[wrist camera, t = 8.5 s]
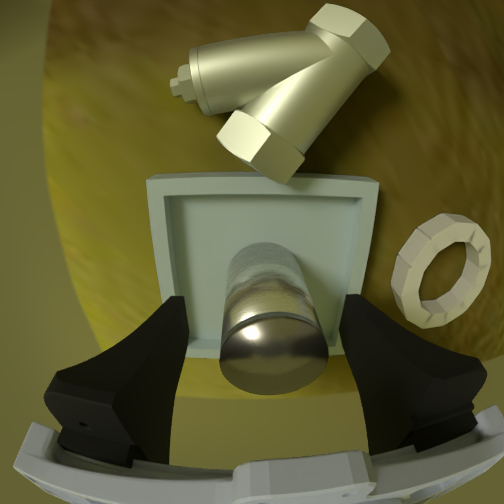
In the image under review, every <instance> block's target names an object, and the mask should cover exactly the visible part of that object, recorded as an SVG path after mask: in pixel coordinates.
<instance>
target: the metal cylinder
mask: <svg viewBox="0 0 504 504" xmlns="http://www.w3.org/2000/svg"><path fill="white" fill-rule="evenodd" d="M328 357H329V350H328V345H327V342H326V339H325V336H324V334H323V331H322V328H321V325H320V322H319V319H318V316H317V313H316V310H315V308H314V305H313V302H312V299H311V296H310V294H309V291H308V288H307V285H306V282H305V280H304V277H303V274H302V271H301V269H300V266H299V263H298V261H297V259H296V257H295V256H294V255H293V253H291V252H290V251H289V250H288V249H287V248H285V247H283V246H281V245H279V244H276V243H271V242H259V243H254V244H251V245H248V246H246V247H244V248H243V249H241V250H240V251H239V252H238V253H237V254H236V255H235V256H234V257H233V258H232V260H231V262H230V264H229V267H228V271H227V281H226V292H225V302H224V313H223V325H222V336H221V348H220V360H219V363H220V368H221V371H222V373H223V375H224V376H225V378H226V379H227V380H228V381H229V382H230V383H231V384H233V385H234V386H235V387H237V388H239V389H241V390H244V391H246V392H249V393H253V394H259V395H279V394H285V393H289V392H292V391H295V390H298V389H300V388H302V387H304V386H306V385H308V384H309V383H311V382H312V381H314V380H315V379H316V378H317V377H318V376H319V375H320V374H321V373H322V371H323V370H324V368H325V366H326V364H327V362H328Z"/></svg>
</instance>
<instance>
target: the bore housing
mask: <svg viewBox="0 0 504 504" xmlns="http://www.w3.org/2000/svg"><path fill="white" fill-rule="evenodd" d="M454 242H465V246H466V255H467V260H466V263H465V266H464V269H463V272H462V276H461V277H460V278H459V280H458V281H457V282H456V284H455V285H454V286H453V288H452V289H451V290H450V291H449V292H447V293H446V294H444V295H442V296H441V297H439V298H438V299H436V300H427V301H421V300H420V299H419V294H418V290H419V287H420V283H421V280H422V277H423V273H424V271H425V269H426V268H427V267H428V265H429V264H430V263H431V261H432V260H433V259H434V257H435V256H436V254H437V253H438V252H439V251H441V250H443V249H444V248H446V247H447V246H449V245H450V244H452V243H454ZM398 254H399V255H397V258H396V263H395V267H394V271H393V275H392V279H391V287H392V291H393V294H394V297H395V301H396V304H397V306H398V307H399V309H400V310H401V312H402V313H403V315H404V316H405V318H406V319H407V320H408V321H410V322H412V323H413V324H415V325H417V326H419V327H420V328H423V329H425V328H432V327H438V326H443V325H446V324H447V323H449V322H450V321H452V320H453V319H455V318H456V317H458V316H459V315H461V314H462V313H464V312H465V310H467V309H468V307H469V306H470V305H471V304H472V302H473V301H474V300H475V298H476V297H477V296H478V294H479V293H480V292H481V289H482V288H483V286H484V283H485V280H486V277H487V274H488V272H489V269H490V266H491V265H490V264H491V253H490V241H489V238H488V237H487V236H486V234H485V233H484V232H483V230H482V229H481V228H480V227H479V225H478V224H476V223H475V222H473V221H471V220H470V219H468V218H466V217H465V216H463V215H456V214H445V213H442V214H439V215H437V216H436V217H434V218H432V219H430V220H429V221H427V222H425V223H424V224H422V225H420V226H418V230H417V229H415V231H414V232H413V233H412V235H411V236H410V238H409V239H408V240H407V242H406V243H405V245H404V246H403V247H402V249H401V250H400V252H399V253H398Z"/></svg>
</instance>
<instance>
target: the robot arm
mask: <svg viewBox="0 0 504 504" xmlns="http://www.w3.org/2000/svg"><path fill="white" fill-rule="evenodd" d="M189 332H190V331H189V325H188V319H187V312H186V305H185V298H184V296H170V297H169V298H168V299H167V300H166V301H165V302H164V303H163V304H162V305H161V306H160V307H159V308H158V309H157V310H156V311H155V312H154V313H153V314H152V315H151V316H150V317H149V318H148V319H147V320H146V321H145V322H144V323H143V324H142V325H140V326H139V327H138V328H137V329H136V330H135V331H134V332H132V333H131V334H130V335H129V336H127V337H126V338H125V339H123V340H122V341H120V342H119V343H117V344H116V345H114V346H113V347H111V348H109V349H108V350H106V351H104V352H102V353H101V354H99V355H97V356H96V357H93V358H91V359H89V360H87V361H85V362H82V363H80V364H78V365H75V366H72V367H69V368H66V369H63V370H60V371H57V373H56V374H55V376H54V377H53V379H52V381H51V383H50V385H49V387H48V388H47V390H46V392H45V394H44V401H45V404H46V406H47V407H48V409H49V410H50V412H51V413H52V414H53V416H54V417H55V418H56V419H57V421H58V422H59V423H60V424H61V426H63V428H62V430H61V433H59V432H58V431H56V430H55V429H52V428H50V427H47V426H44V425H42V424H39V423H37V422H32V425H31V427H30V429H29V431H28V433H27V435H26V438H25V439H24V442H23V444H22V446H21V449H20V451H19V453H18V456H17V458H16V460H15V463H14V466H13V467H14V469H16V470H17V471H18V472H19V473H21V474H22V475H23V476H25V477H26V478H27V479H29V480H30V481H31V482H33V483H34V484H35V485H37V486H38V487H40V488H41V489H42V490H44V491H45V492H47V493H49V494H51V495H53V496H56V497H58V498H60V499H62V500H65V501H67V502H69V503H71V504H425V503H427V502H429V501H431V500H433V499H435V498H438V497H440V496H441V495H444V494H446V493H448V492H450V491H451V490H453V489H455V488H457V487H459V486H461V485H463V484H465V483H466V482H468V481H470V480H472V479H473V478H475V477H477V476H479V475H480V474H482V473H484V472H485V471H487V470H488V469H489V468H490V467H491V466H493V465H494V464H495V463H496V462H498V461H499V460H500V459H501V458H502V457H503V456H504V417H503V416H502V414H501V412H500V410H499V409H498V407H497V405H492V406H490V407H488V408H486V409H484V410H482V411H480V412H478V413H477V414H476V415H475V416H474V414H473V413H472V410H473V409H474V405H473V403H472V400H473V399H474V397H475V396H476V395H477V393H478V392H479V390H480V389H481V388H482V386H483V384H484V383H485V380H486V377H487V371H486V370H485V368H484V367H483V365H482V364H481V362H480V361H479V359H478V358H475V357H471V356H467V355H463V354H459V353H456V352H453V351H450V350H447V349H444V348H442V347H439V346H437V345H435V344H433V343H430V342H428V341H426V340H424V339H422V338H420V337H419V336H417V335H415V334H413V333H412V332H410V331H408V330H407V329H405V328H404V327H402V326H401V325H399V324H398V323H396V322H395V321H393V320H392V319H391V318H389V317H388V316H387V315H385V314H384V313H383V312H382V311H380V310H379V309H378V308H376V307H375V306H374V305H373V304H371V303H370V302H369V301H368V300H366V299H365V298H364V297H362V296H361V295H359V294H346V296H345V301H344V306H343V311H342V316H341V320H340V325H339V334H340V338H341V343H342V347H343V350H344V352H345V355H346V358H347V360H348V363H349V365H350V368H351V371H352V373H353V376H354V379H355V381H356V384H357V387H358V390H359V394H360V398H361V403H362V407H363V412H364V418H365V424H366V430H367V438H368V447H369V453H366V452H363V451H360V450H351V451H342V452H336V453H328V454H321V455H313V456H303V457H292V458H278V459H264V460H255V461H250V462H247V463H244V464H241V465H239V466H238V467H236V469H235V470H221V469H220V470H219V469H203V468H191V467H182V466H173V465H169V451H170V435H171V425H172V415H173V407H174V400H175V394H176V389H177V386H178V382H179V378H180V374H181V371H182V367H183V363H184V360H185V356H186V352H187V347H188V339H189Z"/></svg>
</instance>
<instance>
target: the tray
mask: <svg viewBox="0 0 504 504" xmlns="http://www.w3.org/2000/svg"><path fill="white" fill-rule="evenodd" d="M146 184H147V195H148V206H149V215H150V224H151V232H152V240H153V248H154V255H155V262H156V268H157V274H158V281H159V287H160V292H161V298H162V303H164V302H165V301H166V300H167V299H168V298H169V297H170V296H184V298H185V305H186V312H187V319H188V325H189V331H190V332H189V339H188V347H187V352H186V356H185V357H192V358H220V348H221V336H222V325H223V313H224V302H225V292H226V281H227V271H228V267H229V264H230V262H231V260H232V258H233V257H234V256H235V255H236V254H237V253H238V252H239V251H240V250H241V249H243V248H244V247H246V246H248V245H251V244H254V243H259V242H271V243H276V244H279V245H281V246H283V247H285V248H287V249H288V250H289V251H290V252H291V253H293V255H294V256H295V257H296V259H297V261H298V263H299V266H300V269H301V271H302V274H303V277H304V280H305V282H306V285H307V288H308V291H309V294H310V296H311V299H312V302H313V305H314V308H315V310H316V313H317V316H318V319H319V322H320V325H321V328H322V331H323V334H324V336H325V339H326V342H327V345H328V350H329V356H330V355H342V354H345V352H344V350H343V347H342V343H341V338H340V334H339V325H340V320H341V316H342V311H343V306H344V301H345V296H346V294H359V295H360V293H361V289H362V284H363V280H364V275H365V270H366V265H367V260H368V255H369V249H370V244H371V238H372V232H373V225H374V219H375V212H376V205H377V197H378V189H379V182H377V181H375V180H373V179H371V178H369V177H361V176H348V175H333V174H316V173H294V174H293V176H292V177H291V178H290V179H289V181H288V182H287V183H286V185H281V184H278V183H276V182H274V181H272V180H271V179H269V178H267V177H266V176H264V175H263V174H261V173H260V172H196V173H173V174H155V175H153V176H152V177H150V178H148V179H147V180H146Z"/></svg>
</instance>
